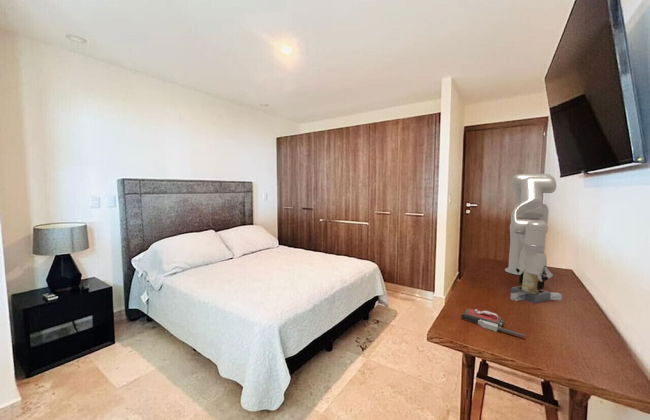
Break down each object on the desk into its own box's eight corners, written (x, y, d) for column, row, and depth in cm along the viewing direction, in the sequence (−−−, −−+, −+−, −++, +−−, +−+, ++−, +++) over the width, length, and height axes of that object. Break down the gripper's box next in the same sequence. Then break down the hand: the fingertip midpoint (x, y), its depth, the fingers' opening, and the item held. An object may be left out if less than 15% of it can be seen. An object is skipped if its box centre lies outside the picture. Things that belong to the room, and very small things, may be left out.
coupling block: (533, 290, 136) (534, 283, 136) (563, 300, 124) (564, 292, 124) (501, 295, 128) (502, 288, 128) (530, 306, 116) (530, 298, 116)
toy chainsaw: (459, 321, 103) (524, 341, 90) (459, 310, 102) (525, 328, 90) (464, 313, 109) (526, 331, 97) (465, 303, 109) (527, 319, 96)
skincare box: (521, 293, 128) (523, 267, 126) (522, 291, 131) (524, 266, 130) (538, 297, 123) (540, 271, 122) (539, 294, 126) (541, 269, 125)
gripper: (509, 245, 132) (506, 281, 133) (550, 253, 116) (546, 294, 117) (520, 244, 135) (517, 279, 136) (561, 252, 118) (557, 292, 120)
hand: (530, 286), depth 127 cm, fingers closed on skincare box, 7 cm apart
